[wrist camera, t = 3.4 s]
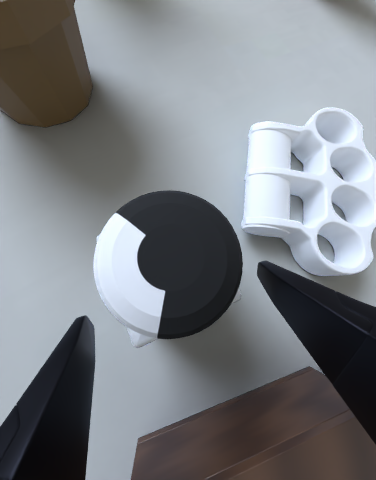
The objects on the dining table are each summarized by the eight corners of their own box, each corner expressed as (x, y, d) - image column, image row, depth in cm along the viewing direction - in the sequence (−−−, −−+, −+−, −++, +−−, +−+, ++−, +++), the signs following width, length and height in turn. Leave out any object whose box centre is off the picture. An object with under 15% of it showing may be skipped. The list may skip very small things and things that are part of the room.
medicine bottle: (188, 226, 20) (217, 149, 8) (216, 293, 19) (295, 308, 7) (119, 252, 19) (44, 203, 7) (146, 325, 18) (107, 406, 6)
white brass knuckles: (246, 116, 24) (357, 139, 25) (234, 263, 20) (368, 283, 21) (259, 89, 21) (386, 117, 22) (248, 259, 17) (405, 283, 18)
